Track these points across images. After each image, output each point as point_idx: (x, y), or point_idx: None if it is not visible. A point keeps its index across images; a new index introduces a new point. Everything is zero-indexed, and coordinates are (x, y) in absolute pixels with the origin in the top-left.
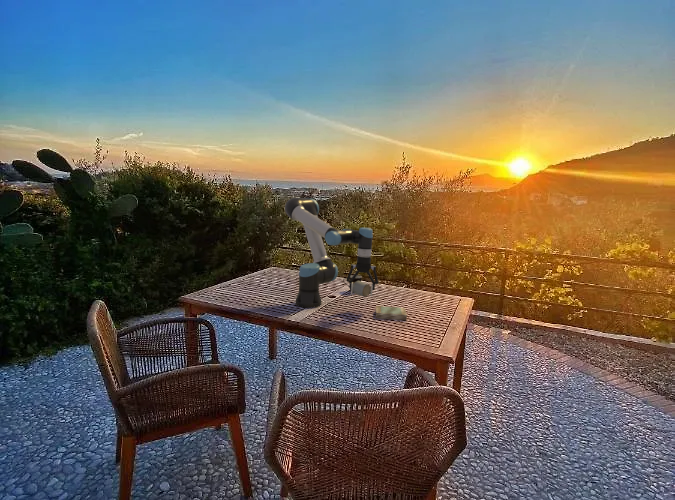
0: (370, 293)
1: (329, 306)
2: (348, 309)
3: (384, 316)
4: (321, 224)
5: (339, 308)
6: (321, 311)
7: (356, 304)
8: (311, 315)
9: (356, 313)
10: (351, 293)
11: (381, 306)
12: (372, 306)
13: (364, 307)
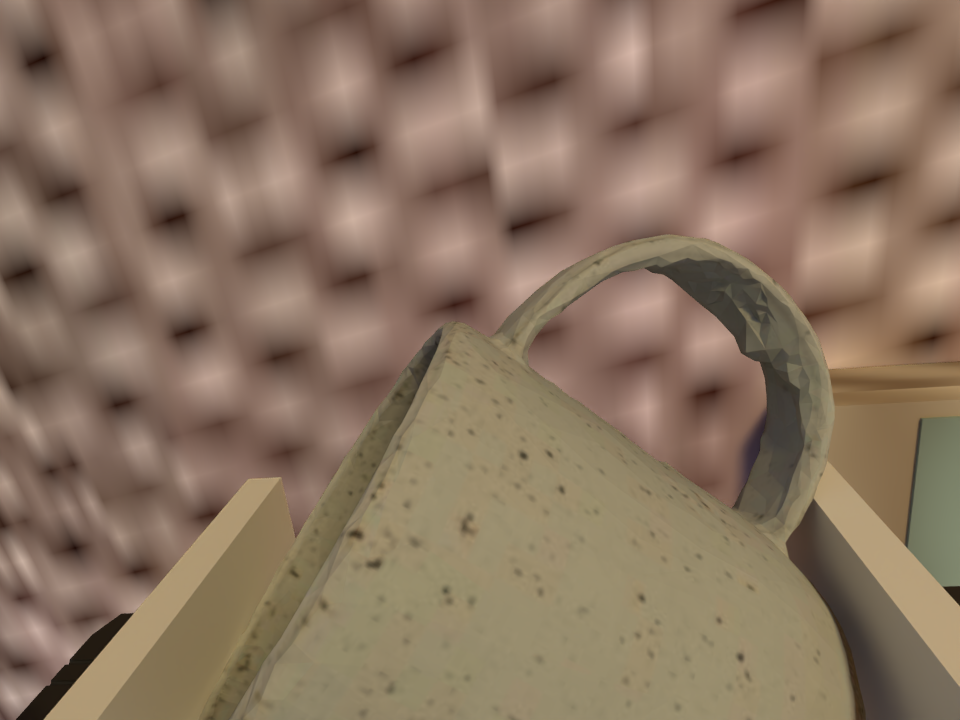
0: (782, 463)
1: (41, 330)
2: (345, 394)
3: None
4: None
5: (207, 384)
6: (45, 560)
7: (415, 66)
8: (14, 701)
9: None
10: None
11: (942, 404)
12: (737, 96)
13: (584, 213)
